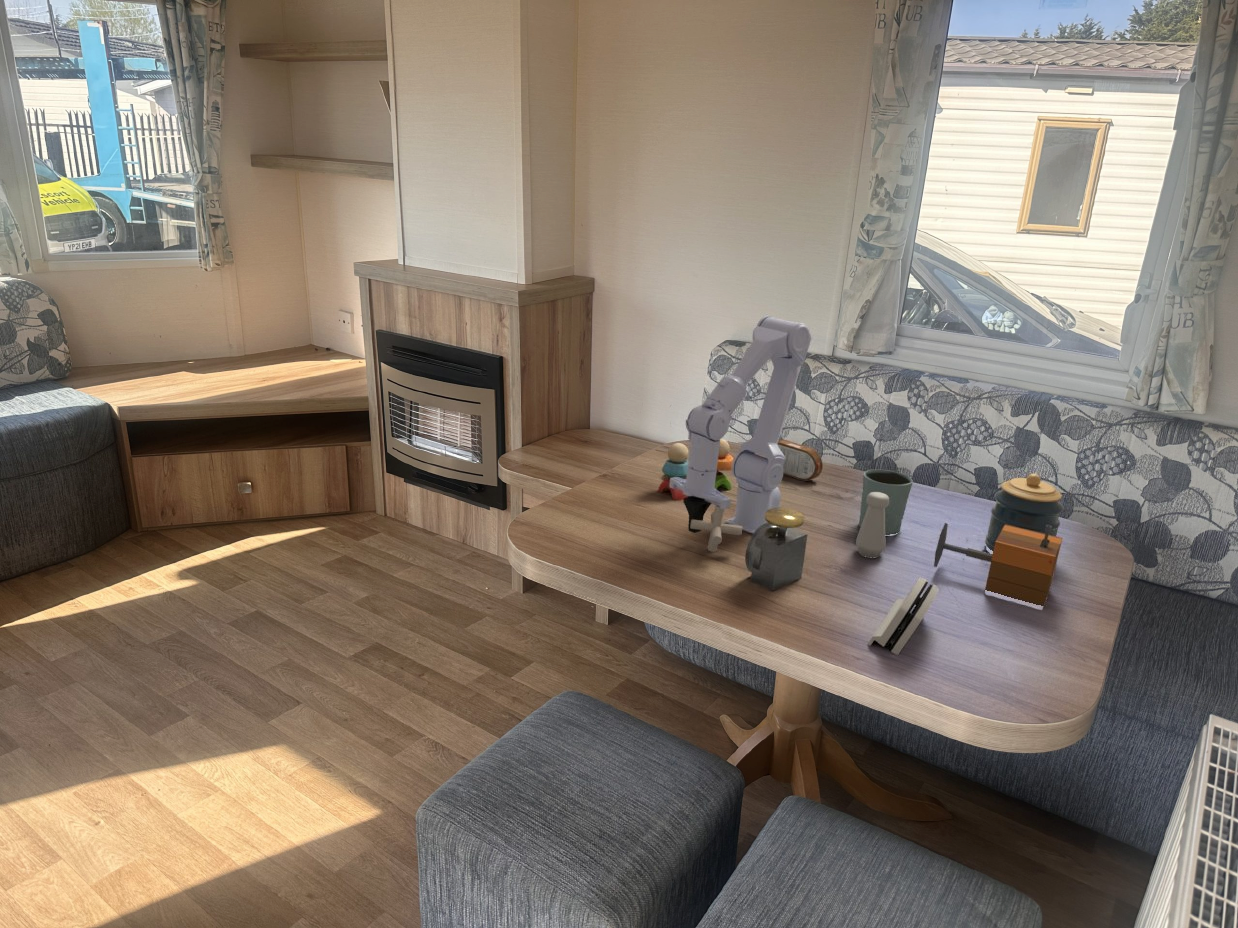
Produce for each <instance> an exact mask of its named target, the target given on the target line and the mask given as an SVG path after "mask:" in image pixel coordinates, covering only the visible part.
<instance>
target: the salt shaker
mask: <svg viewBox="0 0 1238 928" xmlns="http://www.w3.org/2000/svg"><path fill="white" fill-rule="evenodd" d="M866 501H867V504H868V505H869V506H868V508H867V511H866V514H865V517H864V520H863V522H862V525H861V528H860V527H859V531H858V534H857V537H856V540H855V541H856V542H855V543H856V547H857V551H859V552H858V554H859V555H860V554H861V555H863V556H862V557H864V556H866V557H865V558H867V557H869V558H868V559H874V558H873V557H878V558H879V556H880V555H881V554H882V552H883V551H884V550H885V549H886V547H887V546H886V544H887V542H886V537H885V508H886V507H888V505H889V497H888V496H887V495H886V494H884V493H880V492H871V493H870V494H868V496H867V500H866ZM861 555H860V556H861ZM870 557H872V558H870Z"/></svg>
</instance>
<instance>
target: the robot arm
mask: <svg viewBox="0 0 1238 928" xmlns="http://www.w3.org/2000/svg"><path fill="white" fill-rule="evenodd" d="M811 341H812V335H811V332H810V329H809V327H808V325H807V324H806V323H804V322H796V321H791V320H786V319H781V318H777V317H773V316H771V315H766V316H763V317H762V318H760V319H759V321H758V323H757V325H756V326H755V327H754V328H753V330H752V342H751V344H750V346H749V347H748V348H747V350H746V352H745V354H744V355H743V357H742V358H741V360H740V361H739V363H738V365H737V366H736V367H735V369H734V371H732V374H731V375H727V376H724V377H722V378H721V379H720V381H719V382H718V383H717V384H716V386H715V387H714V389H713V390H712V391H711V392H710V394H709V395H708V396H707V397H706V399H705V401H703V403H702V404H701V405H698V406H695V407H693V408H692V409H691V410H690V411H689V413H688V416H687V419H685V428H686V430H687V432H688V435H687V437H688V438H687V440H688V442H689V449H688V458H687V459H688V460H687V461H688V468H687V477H686V479H682V478H679V477H674V478H670V485H669V487H670V488H676V489H679V490H681V491H683V494H685V495H687V496H688V497H686V498H684V500H682V502H683V504H684V506H685V508H686V511H687V514H688V524H687V526H688V529H687V530H688V531H689V532H690V533H692V534H696V533H700V532H701V531H702V530H698V529H691V528H690V526H691V520H692V519H693V520H701V521H704V515H705V514H706V512H707V510H708V509H709V507H711V505H715V506H716V505H717V506H720V508H721V509H723V510H724V511H725V510H726V509H730V508H731V501H732V498H731V497H729V496H727V495H725V494H723V493H722V492H721V491H719V490H718V489H717V490H716V489H715V479H716V471H717V462H718V454H719V446H720V439H723V437H725V436H726V434H727V432H728V431H729V427H730V423H731V421H732V418H733V416H732V414H734V412H735V411H736V410H737V408H738V407H739V405H740V404H741V402H742V401H743V400H744V399H745V397H746V396H747V384H749V382H750V381H751V380H752V379H754V377H755V376H756V374H757V373H758V372H759V371H760V370H761V369H762V367H764V365H765V364H766V363H767V362H768V361H769V360H771V362H772V364H773V368H772V369H773V370H772V373H771V376H770V380H769V382H768V386H767V390H766V392H765V395H764V398H763V402H762V405H761V409H760V412H759V416H758V419H757V422H756V426H755V429H754V432H753V436H752V438H750V439H748V440H746V441H744V442H742V443H741V444H740V446H739V449H738V451H737V453H736V455H735V456H734V457H733V459H734V460H733V463H732V470H731V473H732V476H733V477H734V478H735V483H736V484H737V495H736V500H735V501H736V503H735V509H734V510H735V513H734V517H732V518H729V519H726V520H725V524H730V525H738V526H742V531H745V532H746V533H750V534H752V535H753V534H754V532H755V531H756V530H757V529H758V528H759V527H760V526H761V525H763V524H765V523H768V522H767V521H766V520H765V512H766V511H767V510H768V509H772V508H780V506H781V491H780V489H779V485H780V484H781V482H782V480H783V477H784V474H783V465H784V461H785V456H784V455H783V453H782V452H781V450H780V449H779V447H778V445H777V444H778V441H779V440H780V437H781V433H782V432H783V431H782V430H783V427H784V424H785V421H786V417H787V415H788V411H789V408H790V405H791V401H792V399H793V394H794V392H795V389H796V386H797V382H798V378H799V375H800V372H801V369H802V366H803V365H804V364H805V361H806V357H807V354H808V351H809V347H810V345H811ZM758 454H759V455H758Z"/></svg>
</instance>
